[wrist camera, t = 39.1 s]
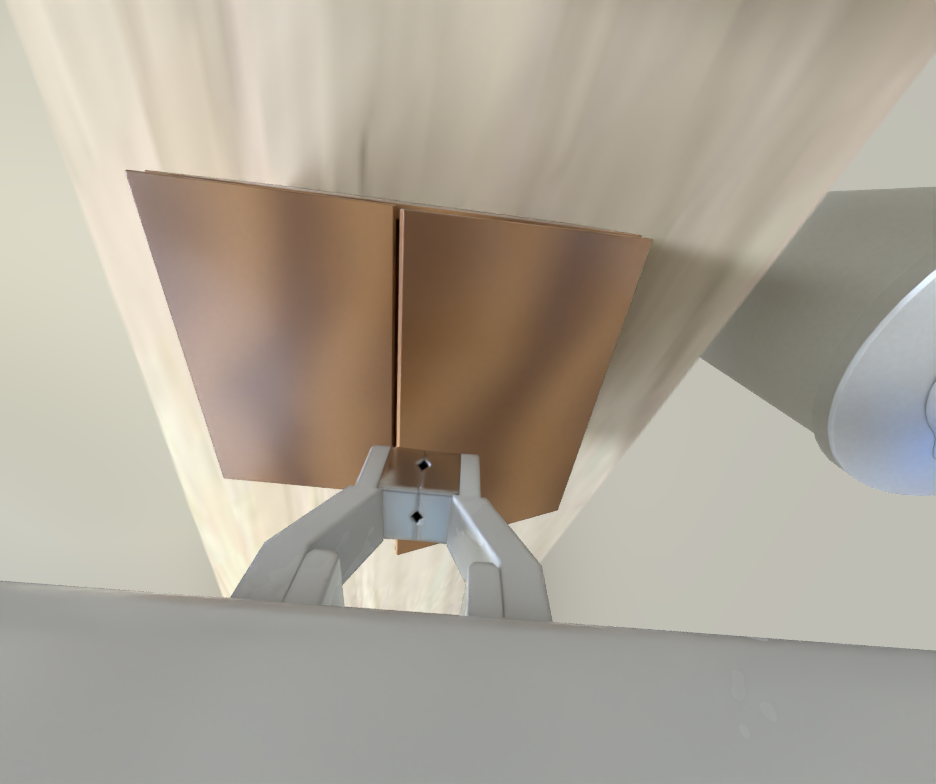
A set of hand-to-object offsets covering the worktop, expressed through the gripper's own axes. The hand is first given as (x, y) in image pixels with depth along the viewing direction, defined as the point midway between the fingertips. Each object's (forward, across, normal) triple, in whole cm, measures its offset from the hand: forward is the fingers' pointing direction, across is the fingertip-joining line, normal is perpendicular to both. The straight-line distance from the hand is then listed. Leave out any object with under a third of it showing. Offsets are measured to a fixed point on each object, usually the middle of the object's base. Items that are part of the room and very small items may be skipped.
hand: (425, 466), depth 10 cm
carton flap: (+4, -3, 0) cm, 4 cm away
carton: (+15, +2, 0) cm, 15 cm away
